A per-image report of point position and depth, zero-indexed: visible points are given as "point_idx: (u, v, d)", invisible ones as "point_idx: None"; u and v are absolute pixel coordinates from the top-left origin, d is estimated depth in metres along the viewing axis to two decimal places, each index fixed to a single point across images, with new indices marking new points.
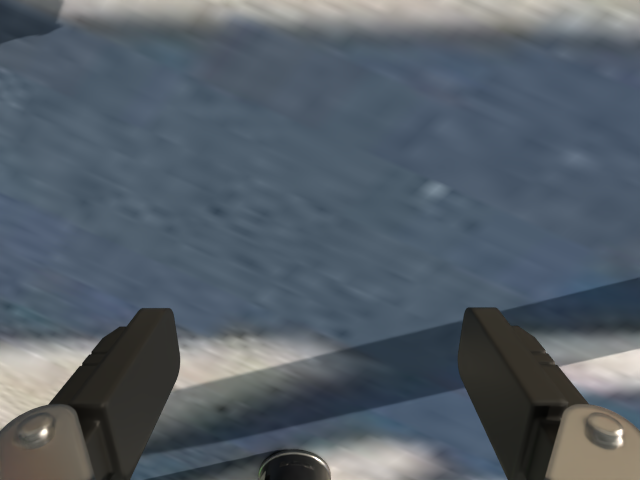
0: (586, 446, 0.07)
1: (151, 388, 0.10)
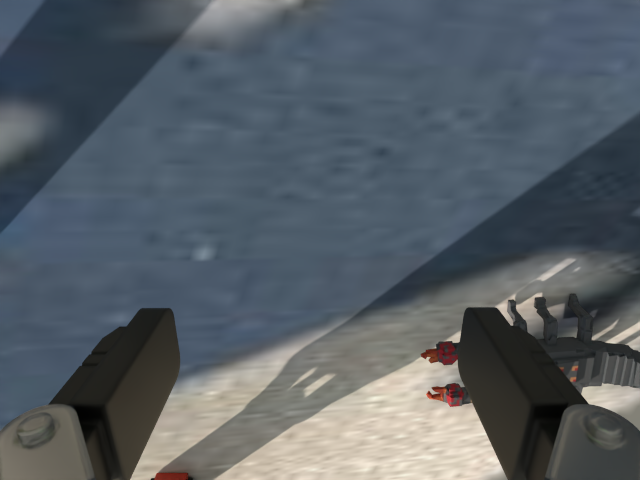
0: (586, 446, 0.07)
1: (151, 388, 0.10)
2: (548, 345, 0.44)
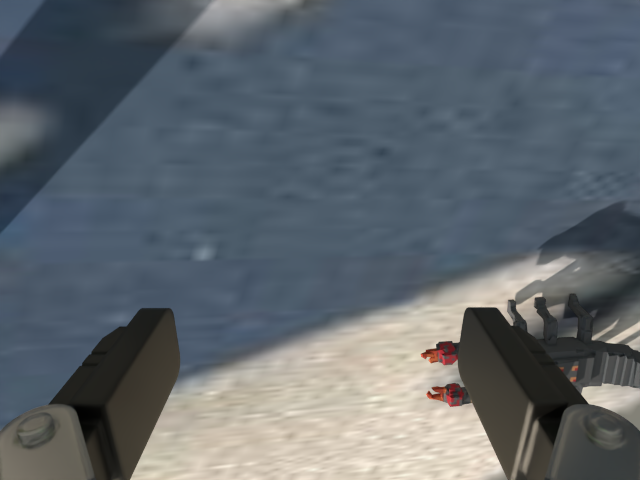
0: (586, 446, 0.07)
1: (151, 388, 0.10)
2: (548, 345, 0.44)
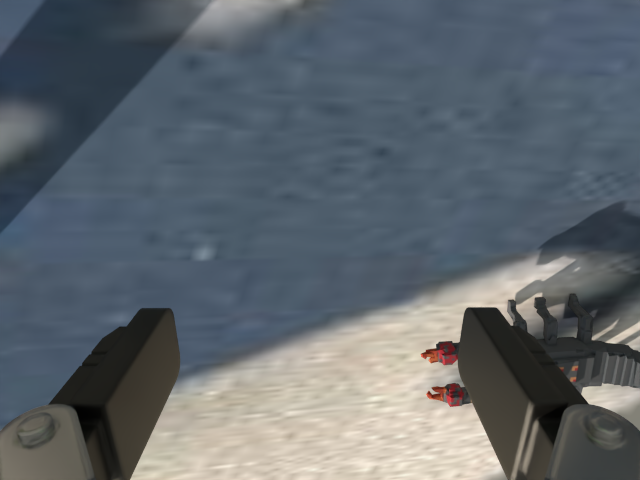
0: (586, 446, 0.07)
1: (151, 388, 0.10)
2: (548, 345, 0.44)
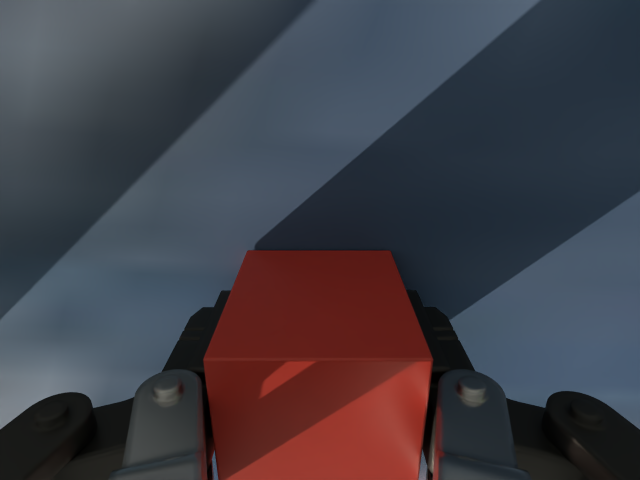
0: (462, 408, 0.07)
1: None
2: None
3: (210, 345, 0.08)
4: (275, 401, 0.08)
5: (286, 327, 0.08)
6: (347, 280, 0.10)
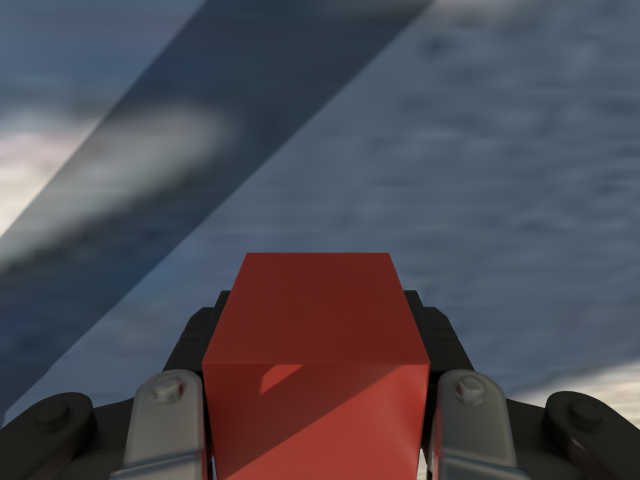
0: (461, 409, 0.07)
1: None
2: None
3: (209, 348, 0.08)
4: (273, 404, 0.08)
5: (284, 329, 0.08)
6: (346, 283, 0.10)
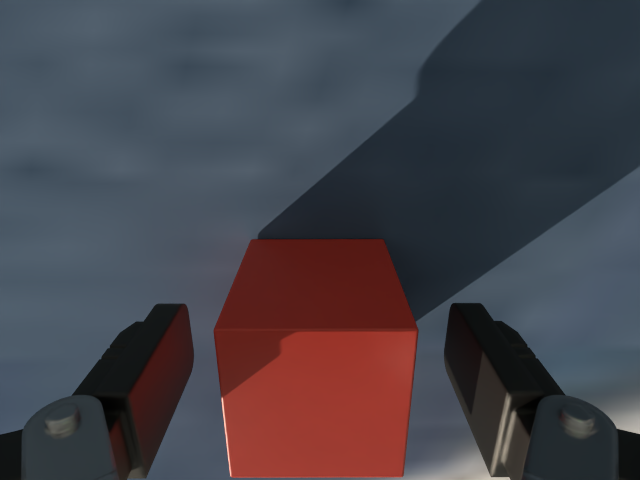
0: (561, 436, 0.07)
1: (168, 381, 0.10)
2: None
3: (219, 318, 0.09)
4: (278, 368, 0.09)
5: (287, 303, 0.09)
6: (343, 265, 0.11)
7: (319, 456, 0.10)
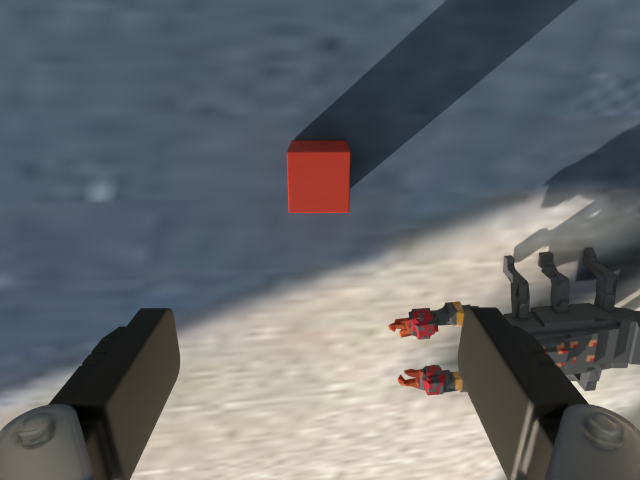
0: (586, 446, 0.07)
1: (151, 388, 0.10)
2: (557, 313, 0.33)
3: (288, 150, 0.27)
4: (306, 166, 0.27)
5: (309, 149, 0.28)
6: (328, 144, 0.30)
7: (319, 203, 0.28)
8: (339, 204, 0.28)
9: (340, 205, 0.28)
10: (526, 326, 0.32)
